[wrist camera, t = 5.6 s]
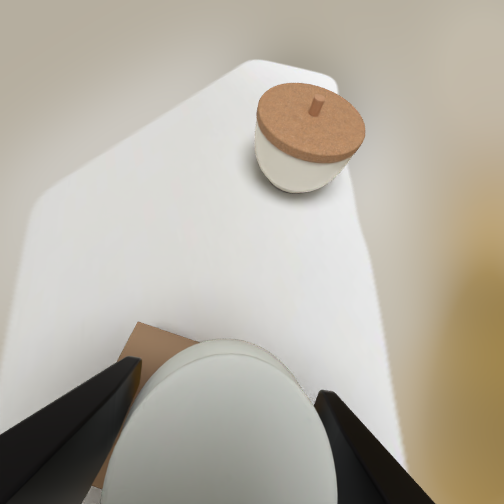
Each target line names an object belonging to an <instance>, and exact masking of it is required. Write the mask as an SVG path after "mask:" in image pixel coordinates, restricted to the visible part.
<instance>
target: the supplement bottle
mask: <svg viewBox="0 0 504 504" xmlns="http://www.w3.org/2000/svg"><path fill="white" fill-rule="evenodd" d="M100 504H337V481H336V472H335V466H334V460H333V455H332V451H331V447H330V444H329V439H328V437H327V434H326V431H325V428H324V426H323V424H322V421H321V419H320V417H319V415H318V413H317V411H316V410H315V408H314V406H313V404H312V403H311V401H310V400H309V398H308V397H307V395H306V394H305V393H304V392H303V390H302V389H301V387H300V385H299V384H298V382H297V380H296V379H295V377H294V376H293V375H292V373H291V372H290V371H289V370H288V368H287V367H286V366H285V365H284V364H283V363H282V362H281V361H280V360H279V359H277V358H276V357H275V356H274V355H272V354H271V353H270V352H268V351H266V350H265V349H263V348H261V347H259V346H257V345H255V344H252V343H249V342H246V341H242V340H236V339H215V340H209V341H204V342H201V343H198V344H195V345H192V346H190V347H188V348H186V349H184V350H182V351H181V352H179V353H177V354H176V355H174V356H173V357H172V358H170V359H169V360H168V361H167V362H165V363H164V364H163V365H162V366H161V367H160V368H159V369H158V370H157V371H156V372H155V373H154V374H153V375H152V376H151V377H150V379H149V380H148V381H147V382H146V383H145V385H144V386H143V388H142V389H141V391H140V392H139V394H138V395H137V397H136V399H135V401H134V402H133V404H132V406H131V408H130V410H129V413H128V415H127V417H126V420H125V422H124V425H123V428H122V431H121V434H120V437H119V439H118V441H117V443H116V445H115V447H114V450H113V453H112V455H111V458H110V460H109V463H108V467H107V471H106V475H105V479H104V484H103V489H102V494H101V501H100Z"/></svg>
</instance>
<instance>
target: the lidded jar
mask: <svg viewBox="0 0 504 504" xmlns="http://www.w3.org/2000/svg"><path fill="white" fill-rule="evenodd" d="M364 138H365V125H364V122H363V119H362V117H361V116H360V114H359V113H358V111H357V110H356V109H355V108H354V107H353V106H352V105H351V104H350V103H349V102H348V101H346V100H345V99H344V98H342V97H341V96H339V95H337V94H335V93H334V92H332V91H329V90H327V89H325V88H321V87H318V86H315V85H311V84H304V83H286V84H281V85H277V86H275V87H272V88H270V89H269V90H268V91H266V92H265V93H264V94H263V95H262V97H261V98H260V100H259V103H258V108H257V121H256V127H255V154H256V158H257V161H258V164H259V166H260V168H261V170H262V172H263V173H264V175H265V176H266V177H267V178H268V179H269V181H270V182H271V183H272V184H273V185H274V186H275V187H277V188H278V189H280V190H282V191H285V192H288V193H302V192H309V191H313V190H316V189H319V188H321V187H323V186H325V185H326V184H328V183H329V182H331V181H332V180H333V179H334V178H335V177H336V176H337V175H338V174H339V173H340V172H341V171H342V170H343V168H344V167H345V166H346V164H347V163H348V162H349V160H350V158H351V157H352V156H353V154H354V153H355V152H356V151H357V150H358V148H359V147H360V146H361V144H362V142H363V140H364Z"/></svg>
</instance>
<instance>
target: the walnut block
mask: <svg viewBox="0 0 504 504" xmlns="http://www.w3.org/2000/svg"><path fill="white" fill-rule="evenodd" d="M198 343H199V342H196V341H194V340H191V339H188V338H185V337H182V336H179V335H176V334H173V333H170V332H167V331H164V330H161V329H158V328H155V327H153V326H150V325H147V324H144V323H141V322H137V324H136V326H135V328H134V330H133V332H132V334H131V336H130V338H129V339H128V341H127V343H126V345H125V347H124V349H123V351H122V353H121V355H120V357H119V358H118V360H117V362H118V361H120V360H121V359H123V358H124V357H126V356H134V357H140V358H141V359H142V369H141V378H140V384H139V387H138V390H137V392H136V394H135V396H134V399H133V401H132V403H131V406H132V404H133V402H134V401H135V399H136V397H137V395H138V394H139V392H140V391H141V389H142V388H143V386H144V385H145V383H146V382H147V381H148V380H149V379H150V377H151V376H152V375H153V374H154V373H155V372H156V371H157V370H158V369H159V368H160V367H161V366H162V365H163V364H164V363H165V362H167V361H168V360H169V359H170V358H172V357H173V356H174V355H176V354H177V353H179V352H181V351H182V350H184V349H186V348H188V347H190V346H192V345H195V344H198ZM131 406H130V408H131ZM130 408H129V410H130ZM129 410H128V413H129ZM128 413H127V415H128ZM127 415H126V417H127ZM126 417H125V419H124V422H125V420H126ZM124 422H123V424H122V426H121V429H120V431H119V433H118V435H117V438H116V440H115V442H114V444H113V446H112V449H111V451H110V452H109V454H108V456H107V458H106V460H105V462H104V464H103V466H102V467H101V469H100V471H99V473H98V475H97V476H96V478H95V480H94V482H93V484H92V486H94V487H97V488H100V489H103V484H104V479H105V475H106V471H107V467H108V463H109V460H110V458H111V455H112V453H113V450H114V447H115V445H116V443H117V441H118V439H119V437H120V434H121V431H122V428H123V425H124Z"/></svg>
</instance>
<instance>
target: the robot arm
mask: <svg viewBox="0 0 504 504" xmlns="http://www.w3.org/2000/svg"><path fill="white" fill-rule="evenodd" d="M141 369H142V359H141V358H140V357H134V356H126V357H124V358H123V359H121V360H120V361H118V362H116V363H115V364H113V365H112V366H110V367H108V368H107V369H105V370H104V371H102V372H100V373H99V374H97V375H95V376H94V377H92V378H91V379H89V380H87V381H86V382H84V383H83V384H81V385H79V386H78V387H76V388H75V389H73V390H71V391H70V392H68V393H67V394H65V395H63V396H62V397H60V398H58V399H57V400H55V401H54V402H52V403H50V404H49V405H47V406H46V407H44V408H42V409H41V410H39V411H38V412H36V413H34V414H33V415H31V416H30V417H28V418H26V419H25V420H23V421H21V422H20V423H18V424H17V425H15V426H13V427H12V428H10V429H9V430H7V431H5V432H4V433H2V434H1V435H0V504H82V502H83V500H84V498H85V496H86V495H87V493H88V491H89V489H90V487H91V486H92V484H93V482H94V480H95V478H96V476H97V475H98V473H99V471H100V469H101V467H102V466H103V464H104V462H105V460H106V458H107V456H108V454H109V452H110V451H111V449H112V446H113V444H114V442H115V440H116V438H117V435H118V433H119V431H120V429H121V426H122V424H123V422H124V419H125V417H126V415H127V413H128V410H129V408H130V406H131V403H132V401H133V399H134V396H135V394H136V392H137V390H138V387H139V384H140V378H141ZM314 408H315V410H316V411H317V413H318V415H319V417H320V419H321V421H322V424H323V426H324V428H325V431H326V434H327V437H328V439H329V444H330V447H331V451H332V455H333V460H334V466H335V472H336V481H337V504H435V503H434V502H433V501H432V500H431V498H430V497H429V496H428V495H427V494H426V493H425V492H424V491H423V490H422V488H421V487H420V486H419V485H418V484H417V483H416V482H415V481H414V479H413V478H412V477H411V476H410V475H409V474H408V473H407V472H406V471H405V470H404V468H403V467H402V466H401V465H400V464H399V463H398V462H397V461H396V460H395V458H394V457H393V456H392V455H391V454H390V453H389V452H388V451H387V450H386V448H385V447H384V446H383V445H382V444H381V443H380V442H379V441H378V440H377V439H376V437H375V436H374V435H373V434H372V433H371V432H370V431H369V430H368V429H367V427H366V426H365V425H364V424H363V423H362V422H361V421H360V420H359V419H358V418H357V416H356V415H355V414H354V413H353V412H352V411H351V410H350V409H349V408H348V406H347V405H346V404H345V403H344V402H343V401H342V400H341V399H340V398H339V396H338V395H337V394H336V393H335V392H333V391H328V390H320V391H319V393H318V396H317V399H316V401H315V404H314Z"/></svg>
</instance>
